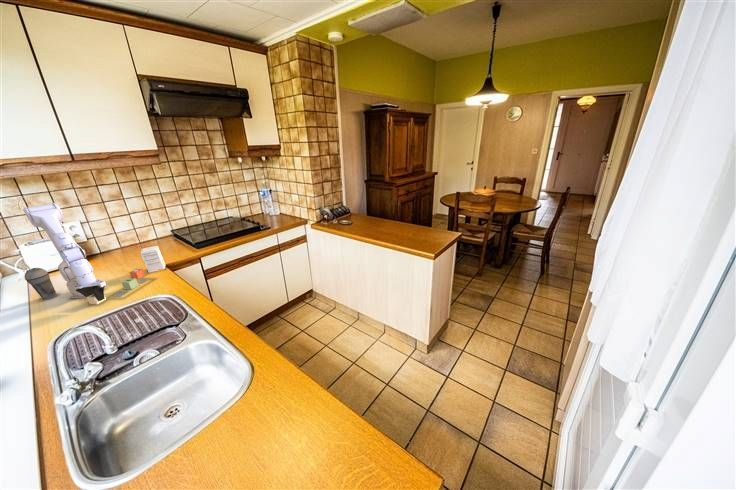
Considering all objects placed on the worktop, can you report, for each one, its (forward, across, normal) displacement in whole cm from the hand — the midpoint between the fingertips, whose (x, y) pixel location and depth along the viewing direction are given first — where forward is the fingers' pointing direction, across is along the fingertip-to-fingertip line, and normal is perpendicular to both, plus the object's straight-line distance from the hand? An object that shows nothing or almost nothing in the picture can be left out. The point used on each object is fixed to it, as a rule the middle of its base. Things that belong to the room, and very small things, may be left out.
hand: (97, 299), depth 121 cm
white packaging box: (+2, +1, +32) cm, 32 cm away
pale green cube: (+1, +5, +12) cm, 13 cm away
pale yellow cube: (+1, 0, 0) cm, 1 cm away
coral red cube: (+1, -2, +23) cm, 23 cm away
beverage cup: (+2, -31, +4) cm, 31 cm away
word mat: (+1, +5, +12) cm, 13 cm away
